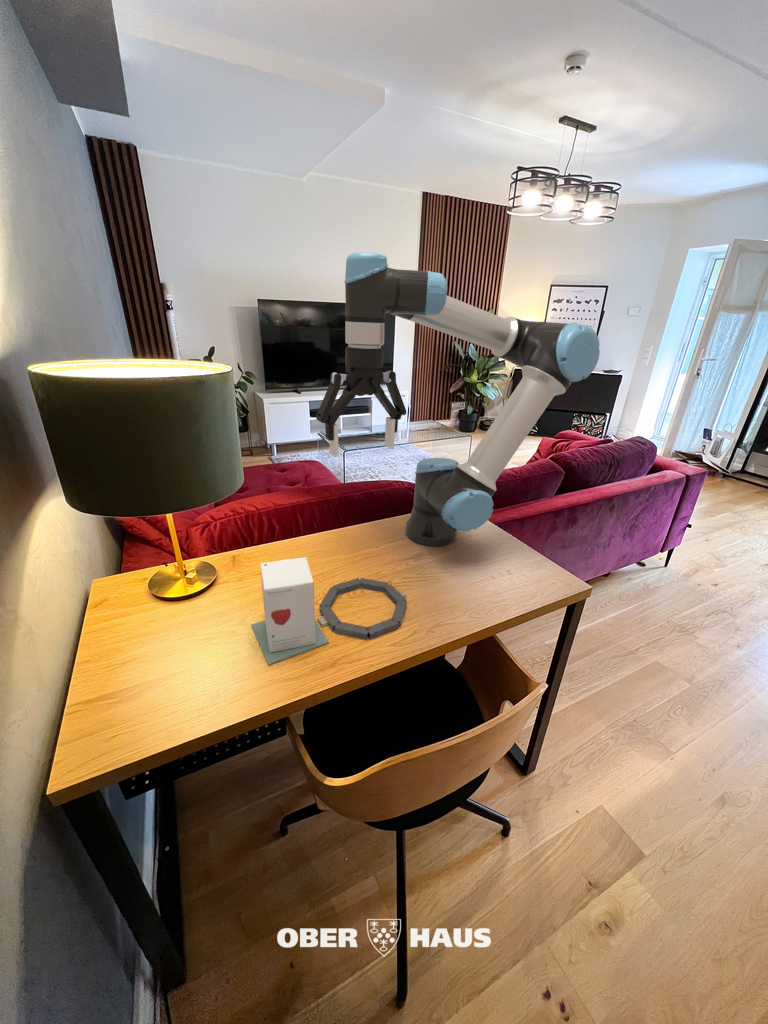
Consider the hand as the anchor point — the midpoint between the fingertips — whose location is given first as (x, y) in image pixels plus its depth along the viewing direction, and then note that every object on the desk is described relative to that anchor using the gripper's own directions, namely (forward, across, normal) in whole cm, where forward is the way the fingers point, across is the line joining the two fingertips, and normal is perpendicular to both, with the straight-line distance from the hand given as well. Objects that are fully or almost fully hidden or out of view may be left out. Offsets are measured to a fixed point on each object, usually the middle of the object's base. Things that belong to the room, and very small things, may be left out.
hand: (362, 450), depth 89 cm
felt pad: (+32, +23, +13) cm, 41 cm away
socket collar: (+32, +6, +13) cm, 35 cm away
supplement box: (+31, +23, +13) cm, 41 cm away
